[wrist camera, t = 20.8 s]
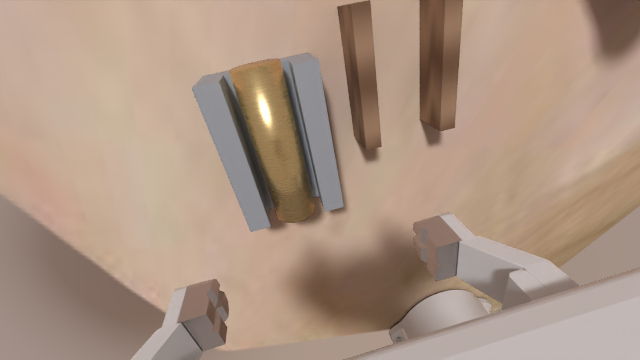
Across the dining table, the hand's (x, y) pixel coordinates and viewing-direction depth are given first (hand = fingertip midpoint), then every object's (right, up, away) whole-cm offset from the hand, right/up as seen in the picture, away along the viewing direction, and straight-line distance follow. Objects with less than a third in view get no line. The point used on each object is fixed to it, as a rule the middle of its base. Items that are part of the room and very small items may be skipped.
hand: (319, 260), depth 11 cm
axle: (-4, +6, +14) cm, 15 cm away
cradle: (-4, +8, +17) cm, 19 cm away
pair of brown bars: (+7, +14, +16) cm, 23 cm away
